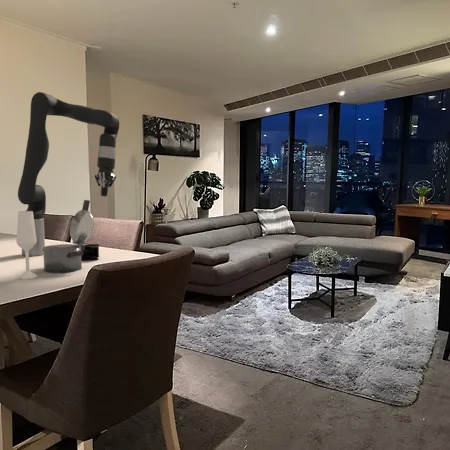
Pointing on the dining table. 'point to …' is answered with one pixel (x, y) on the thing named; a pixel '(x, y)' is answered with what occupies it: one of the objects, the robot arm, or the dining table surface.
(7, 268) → the dining table surface
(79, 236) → the lid
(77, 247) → the pot
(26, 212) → the champagne flute
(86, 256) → the end cap
